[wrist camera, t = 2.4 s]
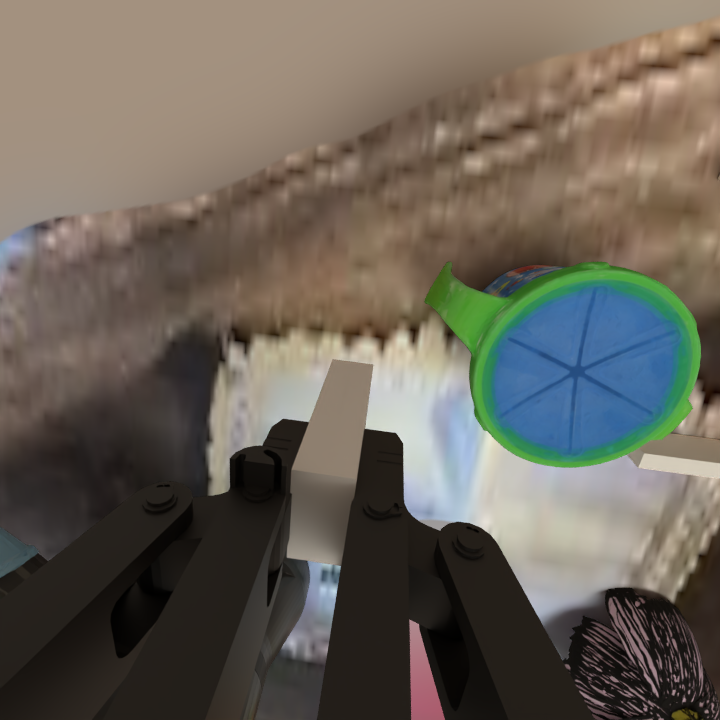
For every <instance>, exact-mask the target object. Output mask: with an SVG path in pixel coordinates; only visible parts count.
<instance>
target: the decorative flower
mask: <svg viewBox="0 0 720 720" xmlns="http://www.w3.org/2000/svg"><path fill="white" fill-rule="evenodd" d="M661 599H662V598H661ZM667 600H668V599H667ZM605 603H606V608H607V611H608V614H609V616H610V620H611V623H612V626H613V628H614V629H615V630H613V629H611V628H609V627H608V626H607V625H605V624H603V623H601V622H599V621H597V620H595V619H592V618H588V617H585V616H583V620H582V624H581V625H580V626H577V627H573V628H572V629H573V630H574V631H575V633H574V634H573V635H572V636H571V637H570V639H571V640H572V643H571V646H570V648H569V652H570V653H569V654H568V655H569V658H568V660H567V659H566V658H565V659H564V661H563V663H564V665H565V666H566V668H567V670H568V672H569V674H570V675H571V677H572V679H573V681H574V683H575V684H576V686H577V688H578V690H579V692H580V693H581V695H582V697H583V699H584V701H585V702H586V704H587V706H588V708H589V710H590V712H591V713H592V715H593V717H594V719H595V720H720V705H719V702H718V698H717V694H716V692H715V690H714V687H713V685H712V682H711V680H710V679H709V676H708V675H707V673H706V671H705V669H704V668H703V665H702V659H701V655H700V651H699V648H698V645H697V643H696V640H695V638H694V636H693V634H692V632H691V630H690V628H689V626H688V624H687V622H686V620H685V618H684V617H683V616H682V614H681V612H680V611H679V609H678V608H675V607H674V606H673V605H672V604H671V602H670V601H669V600H668V602H666V601H665V600H664V599H662V601H661V600H657V599H654V600H647V598H646V597H645V596H641V595H638V594H637V593H635V592H634V590H633V589H632V588H615V589H609V591H607V593H606V596H605Z"/></svg>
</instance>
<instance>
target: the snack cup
mask: <svg viewBox="0 0 720 720" xmlns="http://www.w3.org/2000/svg"><path fill="white" fill-rule="evenodd" d="M451 271H452V262H447V263H446V265H445V266H444V267H443V269H442V270H441V272H440V274H439V275H438V277H437V279H436V280H435V282H434V284H433V285H432V287H431V289H430V290H429V292H428V294H427V296H426V298H425V303H426V304H429V305H430V306H431V307H433V308H434V309H435V310H436V311H437V312H438V314H439V315H440V316H441V318H442V319H443V320H444V321H445V323H446V324H447V325H448V326H449V327H450V328H451V329H452V330H453V332H454V333H455V334H456V335H457V336H458V337H459V339H460V340H461V341H462V342H463V343H464V344H465V345H466V346H467V348H468V349H469V351H470V352H471V361H470V370H469V380H470V389H471V395H472V399H473V402H474V406H475V409H474V413H475V417H476V419H477V420H478V422H479V424H480V425H481V427H482V428H483V430H484V431H488V432H489V433H490V434H491V435H492V437H493V438H494V439H495V440H496V441H497V442H498V443H500V444H501V445H502V446H503V447H504V448H505V449H507V450H508V451H510V452H511V453H513V454H515V455H516V456H518V457H521V458H523V459H526V460H528V461H531V462H534V463H537V464H542V465H547V466H554V467H569V468H573V467H584V466H591V465H596V464H601V463H604V462H608V461H611V460H614V459H617V458H619V457H622V456H625V455H627V454H629V453H631V452H633V451H635V450H637V449H638V448H640V447H641V446H643V445H645V444H646V443H648V442H649V441H651V440H663V438H664V437H666V436H667V435H668V434H670V433H671V432H672V431H673V430H674V429H675V428H676V427H677V426H678V425H679V424H680V423H681V422H682V421H683V420H684V419H685V417H686V416H687V415H688V414H689V413H690V411H691V410H692V409H693V408H692V405H691V403H690V402H689V400H688V398H689V396H690V394H691V392H692V390H693V388H694V385H695V382H696V379H697V375H698V371H699V366H700V358H701V345H700V339H699V336H698V333H697V328H696V326H697V324H696V322H695V319H694V317H693V315H692V314H691V312H690V311H689V310H688V309H687V307H686V306H685V305H684V304H683V302H682V301H681V300H680V299H679V298H678V297H677V296H676V295H675V294H674V293H673V292H672V291H671V290H670V289H669V288H668V287H667V286H665V285H663V284H661V283H660V282H658V281H656V280H654V279H652V278H650V277H648V276H646V275H643V274H641V273H639V272H636V271H633V270H629V269H626V268H621V267H616V266H610V265H609V264H608V263H606V262H584V263H579V264H577V265H575V266H571V267H561V266H548V265H531V266H524V267H520V268H516V269H513V270H511V271H509V272H506V273H505V274H503V275H501V276H500V277H498V278H497V279H495V280H494V281H493V282H492V283H491V284H490V285H488V286H487V287H486V288H485V289H484V290H483V291H482V292H481V291H478V290H475V289H473V288H470V287H468V286H466V285H465V284H463V283H462V282H461V281H459V280H458V279H457V278H456V277H455V276H453V275H452V274H451Z"/></svg>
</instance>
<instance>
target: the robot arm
mask: <svg viewBox="0 0 720 720" xmlns="http://www.w3.org/2000/svg"><path fill="white" fill-rule="evenodd" d="M372 370H373V365H372V364H364V363H357V362H349V361H341V360H334V359H333V360H332V363H331V366H330V368H329V371H328V374H327V376H326V379H325V382H324V384H323V387H322V390H321V392H320V395H319V398H318V400H317V403H316V406H315V408H314V411H313V414H312V416H311V419H310V422H303V421H296V420H288V419H282V420H281V421H279V422H278V423H277V424H275V425H274V426H272V428H271V430H270V432H269V434H268V436H267V439H265V441H264V443H263V446H252V447H247V448H244V449H242V450H240V451H238V452H236V453H235V454H234V455H233V456H232V457H231V458H230V489H229V491H228V492H226V493H223V494H219V495H213V496H204V497H193V498H192V493H191V491H190V489H189V488H188V487H187V486H185V485H183V484H181V483H177V482H171V481H169V482H158V483H155V484H152V485H148V486H146V487H144V488H142V489H141V490H139V491H137V492H136V493H135V494H133V495H132V496H131V497H130V498H128V499H127V500H126V501H124V502H123V503H122V504H121V505H119V506H118V507H117V508H116V509H114V510H113V511H112V512H111V513H109V514H108V515H107V516H106V517H104V518H103V519H102V520H100V521H99V522H98V523H97V524H95V525H94V526H93V527H92V528H90V529H89V530H88V531H87V532H85V533H84V534H83V535H81V536H80V537H79V538H78V539H76V540H75V541H74V542H73V543H71V544H70V545H69V546H68V547H66V548H65V549H64V550H63V551H61V552H60V553H59V554H57V555H56V556H55V557H54V558H52V559H51V560H50V561H49V562H48V561H47V560H46V559H44V558H43V557H42V556H41V555H39V554H38V552H39V551H38V550H37V549H36V548H35V547H34V546H32V545H25V544H24V543H23V542H21V541H20V540H18V539H17V538H16V537H14V536H13V535H11V534H10V533H8V532H7V531H6V530H4V529H3V528H1V527H0V720H255V717H256V713H257V710H258V706H259V702H260V698H261V694H262V690H263V686H264V682H265V678H266V675H267V672H268V669H269V667H270V666H271V664H272V662H273V661H274V659H275V657H276V656H277V654H278V653H279V651H280V649H281V648H282V646H283V644H284V643H285V641H286V639H287V638H288V636H289V634H290V633H291V631H292V630H293V628H294V626H295V625H296V623H297V621H298V620H299V618H300V616H301V614H302V611H303V609H304V606H305V601H306V597H307V592H308V588H309V582H310V574H309V568H308V564H307V561H313V562H319V563H326V564H333V565H339V566H341V570H340V577H339V583H338V589H337V596H336V602H335V609H334V615H333V621H332V628H331V634H330V641H329V647H328V653H327V660H326V666H325V672H324V679H323V685H322V692H321V698H320V704H319V711H318V717H317V720H411V692H410V691H411V689H410V635H409V634H410V632H409V619H410V620H412V621H414V622H416V623H418V624H419V628H420V632H421V636H422V639H423V643H424V647H425V650H426V654H427V657H428V661H429V664H430V668H431V671H432V675H433V678H434V682H435V685H436V689H437V692H438V696H439V699H440V703H441V707H442V710H443V714H444V717H445V720H595V719H594V717H593V715H592V713H591V712H590V710H589V708H588V706H587V704H586V702H585V701H584V699H583V697H582V695H581V693H580V692H579V690H578V688H577V686H576V684H575V683H574V681H573V679H572V677H571V675H570V674H569V672H568V670H567V668H566V666H565V665H564V663H563V661H562V659H561V657H560V656H559V654H558V652H557V650H556V648H555V647H554V645H553V643H552V641H551V639H550V638H549V636H548V634H547V632H546V630H545V629H544V627H543V625H542V623H541V621H540V620H539V618H538V616H537V614H536V612H535V611H534V609H533V607H532V605H531V603H530V602H529V600H528V598H527V596H526V594H525V593H524V591H523V589H522V587H521V585H520V583H519V582H518V580H517V578H516V576H515V574H514V573H513V571H512V569H511V567H510V565H509V564H508V562H507V560H506V558H505V556H504V555H503V553H502V551H501V549H500V547H499V546H498V544H497V542H496V541H495V540H494V539H493V537H492V536H491V535H490V534H489V533H487V532H486V531H484V530H483V529H482V528H480V527H478V526H475V525H473V524H470V523H464V522H455V523H450V524H448V525H446V526H445V527H443V528H442V529H441V531H439V530H436V529H434V528H432V527H429V526H427V525H425V524H423V523H421V522H419V521H418V520H417V519H415V518H414V517H413V516H412V515H411V514H410V513H409V512H408V510H407V508H406V506H405V504H404V483H403V443H402V441H401V440H400V438H399V437H398V435H397V434H396V433H391V432H384V431H377V430H369V429H365V425H366V417H367V409H368V401H369V394H370V386H371V378H372Z"/></svg>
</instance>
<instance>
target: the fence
mask: <svg viewBox="0 0 720 720" xmlns="http://www.w3.org/2000/svg"><path fill="white" fill-rule="evenodd" d="M718 180H720V175H719V177H718ZM627 455H628V457H629V458H630V459H631V460H632V461H633V462H634V464H635V465H636V466H637V467H638V468H643V469H650V470H658V471H665V472H673V473H680V474H687V475H695V476H702V477H710V478H717V479H720V440H718V439H710V438H703V437H695V436H688V435H680V434H672V433H670V434H668V435H667V436H666V437H664V438H663V440H651V441H649V442H648V443H646V444H645V445H643V446H641V447H640V448H638V449H637V450H635V451H633V452H631V453H629V454H627Z"/></svg>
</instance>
